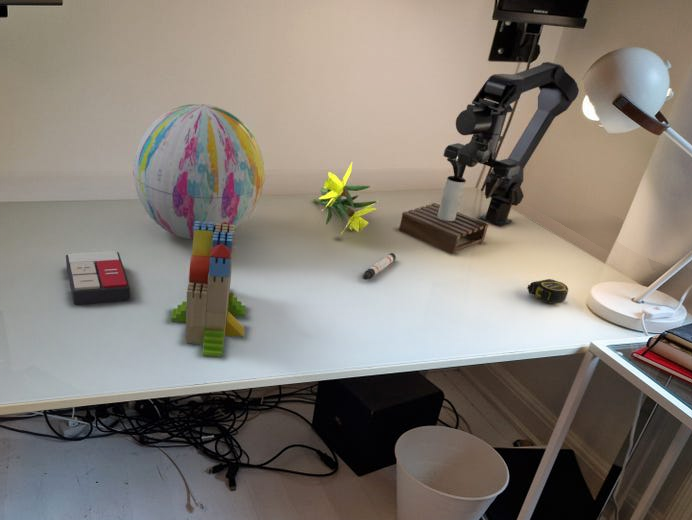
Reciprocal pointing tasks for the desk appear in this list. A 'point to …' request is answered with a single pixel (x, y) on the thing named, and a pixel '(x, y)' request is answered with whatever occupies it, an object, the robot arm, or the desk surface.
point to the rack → (442, 228)
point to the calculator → (97, 277)
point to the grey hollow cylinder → (451, 198)
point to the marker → (379, 266)
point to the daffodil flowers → (344, 200)
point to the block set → (211, 290)
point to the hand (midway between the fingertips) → (471, 192)
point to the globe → (198, 169)
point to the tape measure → (549, 290)
